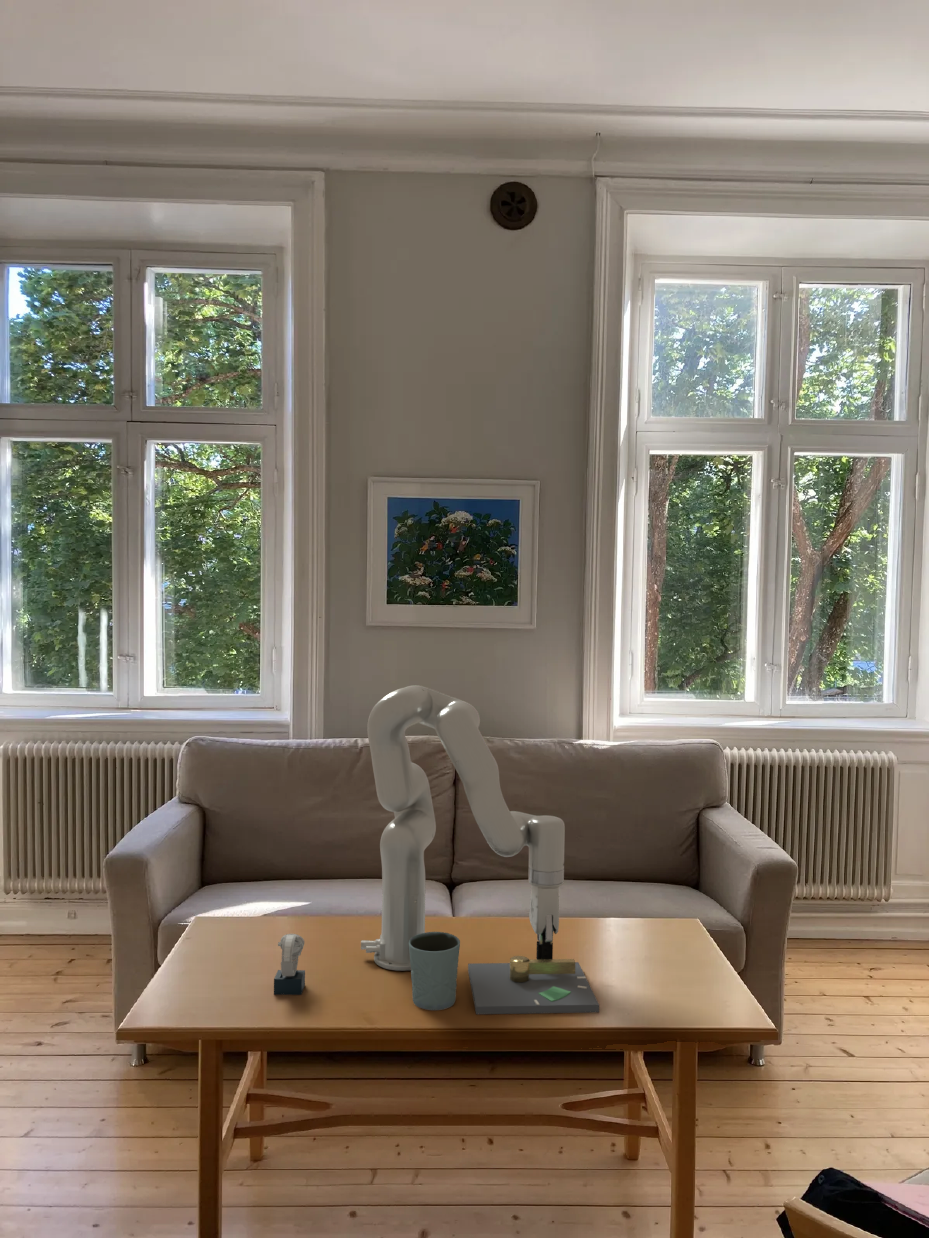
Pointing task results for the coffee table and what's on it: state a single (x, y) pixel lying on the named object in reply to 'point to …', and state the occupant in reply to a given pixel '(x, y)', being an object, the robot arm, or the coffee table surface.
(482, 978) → the dial plate
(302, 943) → the grey and black figurine
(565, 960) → the needle
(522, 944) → the coffee table surface
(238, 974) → the coffee table surface
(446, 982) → the teal cup
